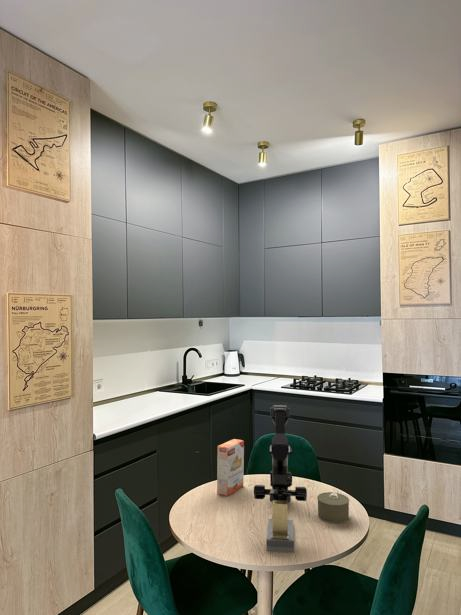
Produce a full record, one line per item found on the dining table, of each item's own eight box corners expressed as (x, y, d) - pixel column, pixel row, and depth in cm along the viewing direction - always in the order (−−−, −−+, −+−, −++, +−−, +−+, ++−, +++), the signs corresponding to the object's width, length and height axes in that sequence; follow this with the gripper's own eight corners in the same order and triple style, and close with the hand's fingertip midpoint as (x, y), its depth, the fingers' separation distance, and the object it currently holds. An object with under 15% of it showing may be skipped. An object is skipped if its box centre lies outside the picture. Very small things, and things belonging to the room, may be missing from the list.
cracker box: (228, 496, 187) (228, 447, 188) (216, 493, 190) (216, 445, 191) (244, 486, 199) (244, 439, 199) (233, 483, 202) (233, 438, 203)
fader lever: (271, 533, 151) (271, 498, 152) (288, 534, 150) (288, 499, 151) (271, 541, 146) (271, 504, 147) (289, 542, 146) (289, 505, 146)
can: (315, 521, 165) (315, 502, 165) (319, 507, 176) (319, 490, 176) (348, 525, 161) (348, 506, 161) (350, 511, 172) (349, 494, 173)
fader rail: (268, 522, 163) (268, 513, 163) (292, 523, 162) (292, 514, 162) (266, 551, 143) (266, 540, 143) (294, 552, 142) (293, 541, 142)
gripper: (253, 462, 157) (251, 506, 146) (306, 464, 155) (308, 509, 144) (255, 476, 165) (253, 519, 153) (305, 478, 163) (307, 522, 151)
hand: (280, 517), depth 150 cm, fingers closed, pressing on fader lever
